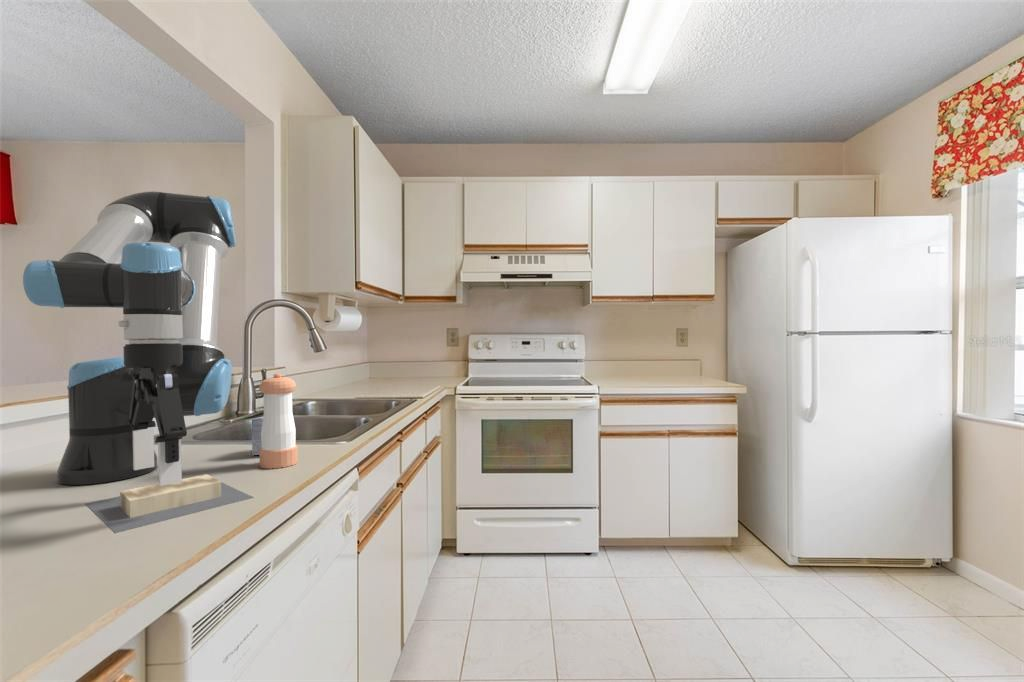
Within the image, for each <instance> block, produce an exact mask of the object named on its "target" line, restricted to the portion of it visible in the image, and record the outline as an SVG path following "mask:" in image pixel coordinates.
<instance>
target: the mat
mask: <svg viewBox="0 0 1024 682" xmlns="http://www.w3.org/2000/svg"><path fill="white" fill-rule="evenodd" d="M220 482H221V497H218V498H214V499H209V500H205V501H201V502H196V503H192V504H188V505H183V506H179V507H175V508H171V509H166V510H162V511H158V512H153V513H149V514H145V515H140V516H136V517H132V518H130V517H129V516H128V515H127V514H126V513H125V512H124V511H123V509H122V508H121V507H120V495H119V496H115V497H110V498H105V499H101V500H96V501H91V502H86V503H85V504H84V505H86V506H87V508H89V510H91V511H92V512H93V513H94V514H95V515H96V517H98V518H99V519H100V520H101V521H102V522H103V523H104V524H105V525H106V526H107V527H108V528H109V529H110V530H112V531H113V533H114V534H118V533H122V532H127V531H129V530H132V529H133V530H134V529H137V528H141V527H145V526H148V525H149V526H150V525H153V524H157V523H161V522H163V521H164V522H165V521H169V520H172V519H177V518H180V517H185V516H187V515H192V514H196V513H201V512H203V511H208V510H211V509H215V508H219V507H223V506H226V505H230V504H234V503H239V502H242V501H246V500H247V501H248V500H250V499H254V498H255V497H254V496H252V495H251V494H248V493H246V492H244V491H241V490H239V489H237V488H234V487H233V486H231V485H228V484H226V483H224V482H222V481H220Z"/></svg>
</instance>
